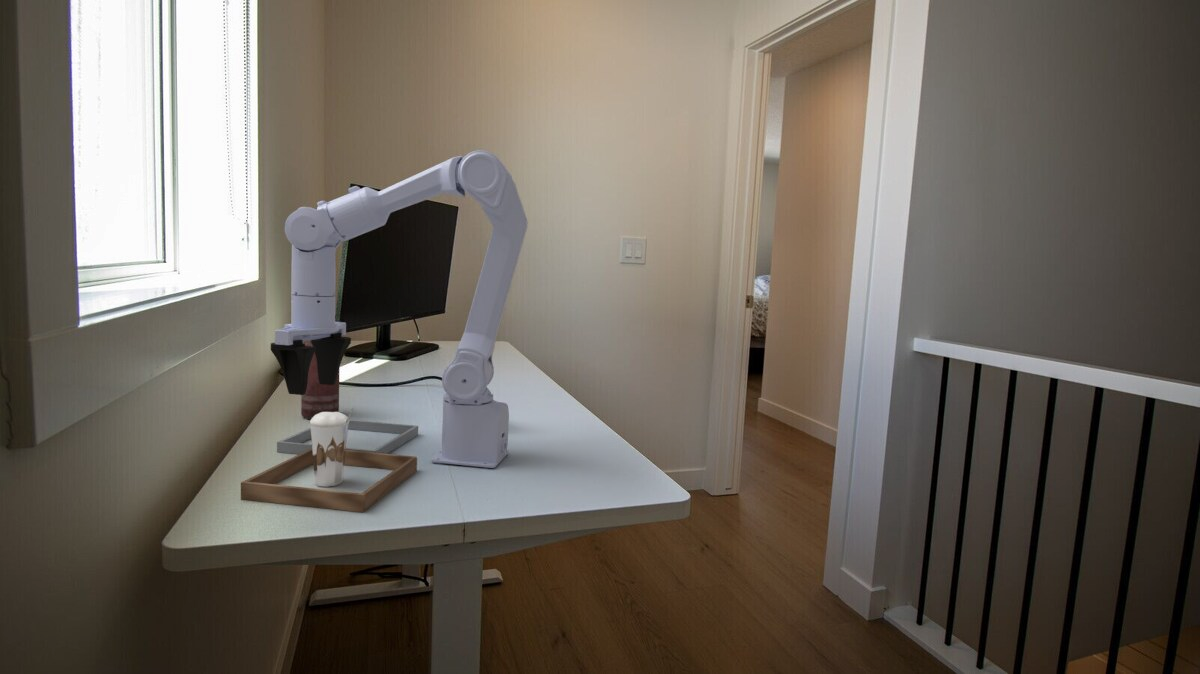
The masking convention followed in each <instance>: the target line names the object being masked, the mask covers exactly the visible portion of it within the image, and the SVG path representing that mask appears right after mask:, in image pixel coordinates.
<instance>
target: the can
mask: <svg viewBox="0 0 1200 674" xmlns="http://www.w3.org/2000/svg"><path fill="white" fill-rule="evenodd" d="M303 344H305V346H313V345H312V343H311V341H310V340H308V341H303ZM339 369H340V367H339ZM300 396H301V398H300V399H301V400H300V402H301V403H300V404H301V405H300V406H301V407H300V408H301V409H300V414H301V417H302V418H303V419H304V420H308V421H311V419H312V418H313V417H314V416H315V415H316V414H319V413H321V412H340V370H339V371H338V374H337V378H336V381H335V384H334V385H324V384H320V383H319V379H318V370H317V360H316V355H315V352H314V354H313V357H312V360H311V363H310V367H309V372H308V383H307V389H306V393H305V394H304V395H300Z"/></svg>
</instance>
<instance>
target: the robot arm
mask: <svg viewBox="0 0 1200 674" xmlns="http://www.w3.org/2000/svg"><path fill="white" fill-rule="evenodd" d="M516 185H517V184H516V182H515V181H514V179H513V177H512V175H511V173H510V172H509V170H508V169H507V168H506V166H505V165H504V164H503V163H502V160H501V159H500V158H498V156H497V155H495V154H494V153H492V152H490V151H488V150H479V149H478V150H473V151H471V152H468V154H466V155H465V156H462V155H459V156H454V157H451V158H449V159H446V160H445V161H443V162H440V163H438V164H436V165H434V166H431V167H430V168H427V169H425V170H423V171H421V172H419V173H417V174H414V175H412V176H410V177H408V178H406V179H404V180H401V181H399V182H397V183H394V184H393V185H390V186H388V187H386V188H383V189H381V190H380V191H378V190H376V189H373V188H371V187H368V186H364V187H362V188H360V186H358V185H355V186H352V187H349V188H348V193H347V194H345V195H343V196H339V197H337V198H334V199H332V200H330V201H328V202H327V201H326V200H320V201H318V202H317V203H316V205H317V208H316V209H315V208H313V207H310V206H309V207H308V206H301V207H299V208H297V210H295V211H293V212H291V213H290V214H289V215H288V217H287V218H286V220H285V223H284V234H285V236H286V239H287V241H288V242H289V243H290V244H291V269H290V270H291V273H290V274H291V275H290V276H291V277H290V278H291V279H290V280H291V281H290V283H291V288H290V289H291V290H290V292H291V295H290V298H291V299H290V301H291V305H290V307H291V309H290V310H291V311H290V317H291V318H290V319H291V320H290V322H291V323H286V324H284V325H283V328H279V329H275V330H274V342H271V343H270V351H271V353H272V354H273V356H274V357H275V359H276V360H277V362H278V364H279V367H280V369H281V371H282V374H283V377H284V381H285V386H286V389H287V391H288V394H289V395H297V396H298V395H299V396H301V395H304V394H305V393H306V389H307V383H308V372H309V367H310V363H311V360H312V357H313V354H314V352H315V355H316V360H317V370H318V379H319V383H320V384H324V385H334V384H335V381H336V378H337V374H338V371H339V372H340V368H339V367H340V366H341V363H342V361H343V358H344V356H345V353H346V352H347V350H348V348H349V347H350V345H351V343H352V338H351V337H349V336H345V335H347V323H346V322H342V321H336V284H337V283H336V280H337V279H336V276H337V275H336V273H337V272H336V270H337V269H336V267H337V265H336V250H337V249H338V247H339V246H340V245H341V243H342V242H346V241H349V240H352V239H354V238H357V237H358V236H361V235H363V234H366V233H369V232H372V231H374V230H376V229H378V228H380V227H383V226H385V225H387V224H386V223H387V221H388V219H389V217H390V215H391V213H394V212H396V211H399V210H401V209H405V208H407V207H410V206H412V205H413V206H414V205H416V204H418V203H421V202H424V201H427V200H430V199H432V198H435V197H438V196H441V195H447V196H448V195H449V196H452V197H453V196H454V197H459V198H460V197H461V198H466V193H467V194H468V195H469V196H470V197H471V198H472V199H473V200H475V201H476V202H477V203H478V204H479V205H480V206H481V209H482V211H483V212H484V214H485V215H486V217H487V219H488V220H489V222H490V223H491V225H492V230H491V234H490V236H489V237H490V238H489V242H488V245H487V249H486V252H485V254H484V255H485V256H484V259H483V263H482V267H481V271H480V274H479V277H478V280H477V285H476V287H475V291H474V295H473V298H472V303H471V307H470V309H469V313H468V317H467V320H466V324H465V326H464V327H465V329H464V331H463V334H462V336H461V339H460V341H459V344H458V346H457V348H456V352H455V356H454V358H453V359H452V360H451V362H450V363H449V364H448V365H447V366H446V367H445V369H444V370H443V374H442V377H441V382H442V387H443V390H444V391H445V394H443V397H442V398H443V399H442V400H443V401H442V427H441V429H442V430H441V431H442V433H441V451H440V452H438V453H437V454H436V455H435V456H433V457H432V458H431V459H430V461H431V462H432V463H436V464H437V463H438V464H447V465H459V466H468V467H478V468H479V467H480V468H489V469H494V468H496V467H497V466H498V464H499V463H501V462H502V460H503V459H504V458H506V456H507V455H508V454H509V449H508V446H509V445H508V444H509V443H508V442H509V425H510V424H509V422H510V421H509V420H510V419H509V418H510V412H509V409H510V408H509V405H508V403H506V402H501V401H497V400H494V394H493V393H492V391H491V390H490V388H489V387H488V385H489V384H490V383H491V381H492V380H493V378H494V373H495V369H494V368H495V367H494V363H493V354H494V352H495V348H496V347H495V345H496V339H497V336H498V332H499V329H500V325H501V322H502V319H503V314H504V311H505V309H506V308H505V307H506V304H507V300H508V297H509V293H510V291H511V290H510V289H511V287H512V284H513V279H514V276H515V272H516V269H517V264H518V262H519V259H520V255H521V252H522V249H523V245H524V240H525V237H526V233H527V230H528V223H529V222H528V218H527V215H526V211H525V209H524V206H523V203H522V201H521V197H520V194H519V191H518V188H517V186H516ZM308 340H310V341H311V343H312V345H313V346H305V344H303V342H304V341H308Z"/></svg>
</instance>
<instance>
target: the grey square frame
mask: <svg viewBox="0 0 1200 674" xmlns="http://www.w3.org/2000/svg"><path fill="white" fill-rule="evenodd" d="M348 430H353V431H354V430H355V431H366V432H373V433H375V432H376V433H387V434H399V435H397V436H395V437H393V438H392V439H390V440H389V441H387V442H385V443H384V444H382V445H381V446H379V447H376V448H375V449H366V448H365V449H364V448H357V447H356V448H354V447H346V450H352V451H363V452H373V453H384V454H391V452H394V451H395V450H396V449H398V448H399V447H401V446H402V445H404V444H406V443H408V442H409V441H410V440H412V439H413V438H415V437H417V436H419V425H414V424H413V425H412V424H403V423H401V424H400V423H390V422H380V421H379V422H378V421H368V420H367V421H366V420H357V419H349V427H348ZM310 439H311V440H312V438H311V428H309V427H308V428H307V429H304V430H302V431H299V432H298V433H294V434H291V435H290V436H288V437H286V438H283V439H281V440H279V441H276V452H277V453H282V454H283V453H284V454H291V455H294V454H295V455H299V454H301V453H303V452H305V451H307V450H309V449H311V448H312V443H304V442H306V441H309V440H310Z"/></svg>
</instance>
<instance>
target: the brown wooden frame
mask: <svg viewBox="0 0 1200 674" xmlns="http://www.w3.org/2000/svg"><path fill="white" fill-rule="evenodd" d="M312 465H313V450H312V448H311V449H309V450H307V451H305V452H303V453H301V454H296V455H295V456H293V457H291V458H289V459H287V460H284V461H282V462H280V463H278V464H277V465H275V466H272V467H270V468H268V469H265V470H264V471H262V472H260V473H257V474H256V475H254V476H251V477H250V478H247V479H245V480H243V481H240V500H243V501H244V500H246V501H253V502H254V501H256V502H265V503H273V504H274V503H275V504H280V505H281V504H283V505H290V506H291V505H292V506H299V507H300V506H301V507H310V508H311V507H312V508H319V509H329V510H330V509H331V510H340V511H347V512H355V513H357V512H358V513H364V512H365V511H367V510H368V509H370V508H371V507H372V506H373V505H374V504H376V503H377V502H378V501H380V500H381V499H382V498H383V497H385V496H386V495H388V493H390V492H391V491H393V490H394V489H395V488H396V487H398V486H399V485H401V484H402V483H403V482H404V481H406V480H407V479H408V478H409V477H411V476H412V475H414V473H416V472H417V471H418V456H416V455H415V456H414V455H402V454H394V453H393V454H392V453H388V454H384V453H373V452H363V451H352V450H346V453H345V464H344V466H349V467H350V466H351V467H360V468H371V469H373V468H374V469H382V470H390V471H391V470H392V471H391V472H390V473H388V474H387V475H385V476H383V478H382V479H380V480H378V481H377V482H375V483H373V485H371V486H370V487H369V488H367V489H365V490H364V491H362V492H351V491H344V490H343V491H341V490H332V489H322V488H314V487H313V488H312V487H303V486H293V485H284V484H277V483H279V482H281V481H283V480H284V479H286V478H288V477H290V476H293V475H295V474H296V473H297V472H300V471H302V470H303V469H306V468H307V467H310V466H312Z"/></svg>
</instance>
